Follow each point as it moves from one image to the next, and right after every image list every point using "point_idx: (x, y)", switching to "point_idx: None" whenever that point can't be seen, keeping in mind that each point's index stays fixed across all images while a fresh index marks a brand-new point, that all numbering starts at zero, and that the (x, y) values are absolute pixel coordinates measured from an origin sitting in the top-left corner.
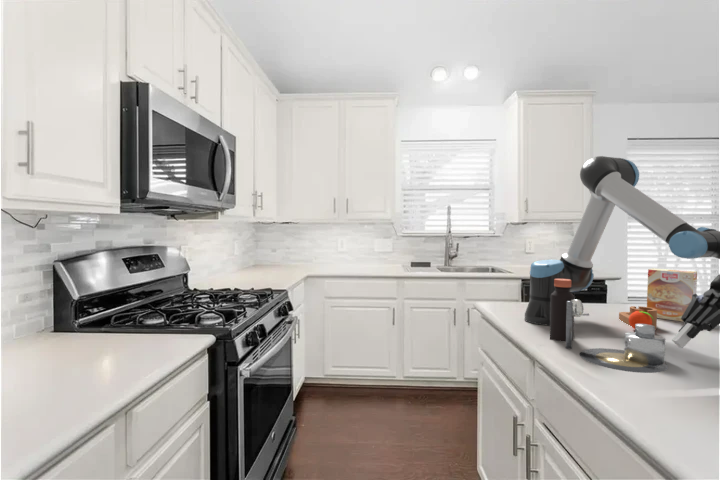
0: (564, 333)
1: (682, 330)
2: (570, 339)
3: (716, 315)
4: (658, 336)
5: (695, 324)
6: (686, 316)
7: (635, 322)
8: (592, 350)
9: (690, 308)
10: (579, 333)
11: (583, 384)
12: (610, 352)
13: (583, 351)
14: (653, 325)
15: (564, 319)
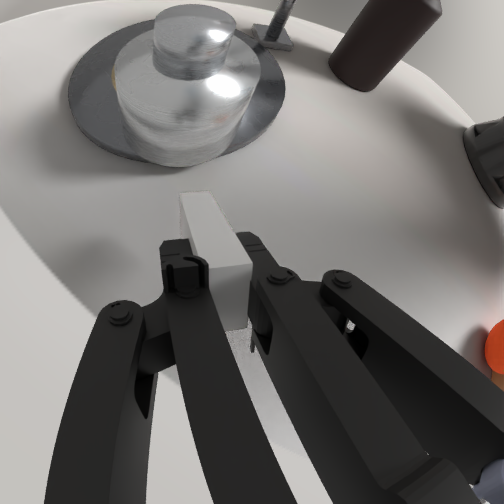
0: (341, 43)
1: (216, 225)
2: (275, 14)
3: (60, 436)
4: (188, 101)
5: (172, 275)
6: (341, 297)
7: (501, 326)
8: (260, 55)
9: (427, 361)
10: (439, 165)
11: (89, 4)
12: None
13: (248, 38)
14: (499, 387)
15: (358, 17)
